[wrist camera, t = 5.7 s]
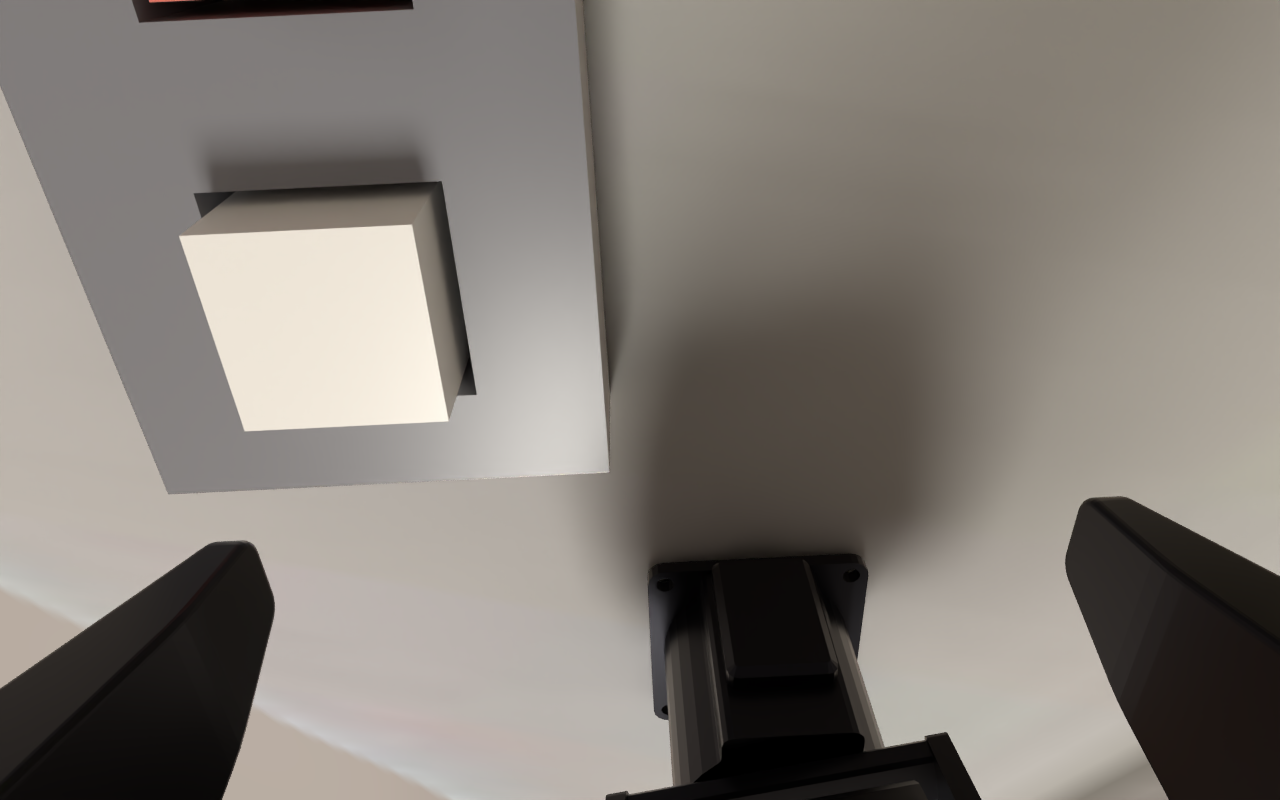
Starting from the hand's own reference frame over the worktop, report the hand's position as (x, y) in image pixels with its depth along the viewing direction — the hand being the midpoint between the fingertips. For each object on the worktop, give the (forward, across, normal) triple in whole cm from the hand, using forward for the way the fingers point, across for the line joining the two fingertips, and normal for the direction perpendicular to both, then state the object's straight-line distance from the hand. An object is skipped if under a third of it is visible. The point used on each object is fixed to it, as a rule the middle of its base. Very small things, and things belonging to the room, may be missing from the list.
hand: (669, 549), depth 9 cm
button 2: (+10, +6, 0) cm, 12 cm away
